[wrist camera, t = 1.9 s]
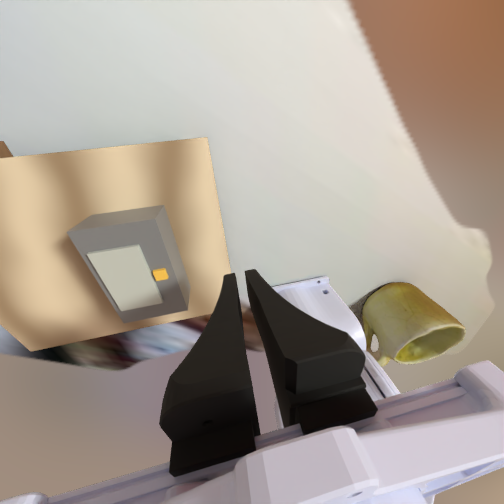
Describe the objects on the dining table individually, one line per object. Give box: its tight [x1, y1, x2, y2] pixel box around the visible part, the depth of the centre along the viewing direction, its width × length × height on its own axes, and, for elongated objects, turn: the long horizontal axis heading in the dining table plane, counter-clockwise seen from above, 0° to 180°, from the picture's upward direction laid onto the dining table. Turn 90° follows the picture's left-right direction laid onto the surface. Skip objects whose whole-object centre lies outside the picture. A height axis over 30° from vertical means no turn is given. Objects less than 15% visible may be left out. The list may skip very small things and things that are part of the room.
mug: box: [362, 282, 466, 367], centre depth 29 cm, size 12×10×10 cm
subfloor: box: [0, 137, 231, 351], centre depth 18 cm, size 20×18×4 cm
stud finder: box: [67, 205, 191, 323], centre depth 15 cm, size 5×8×3 cm, turn 5°
